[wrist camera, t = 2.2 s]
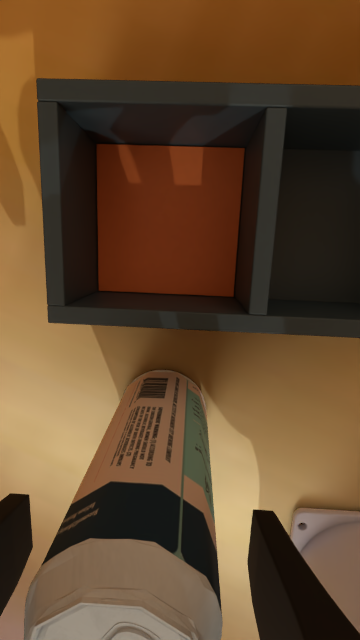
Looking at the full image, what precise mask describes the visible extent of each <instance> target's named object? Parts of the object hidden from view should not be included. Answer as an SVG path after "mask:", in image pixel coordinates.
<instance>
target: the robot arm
mask: <svg viewBox="0 0 360 640" xmlns="http://www.w3.org/2000/svg"><path fill="white" fill-rule="evenodd" d="M300 523H303V524H302V525H299V524H300ZM32 548H33V543H32V529H31V515H30V501H29V495H26V494H9V495H8V496H7V497H5V498H4V499H3V500H1V501H0V616H1V614H2V612H3V610H4V608H5V607H6V605H7V603H8V601H9V599H10V597H11V595H12V593H13V592H14V590H15V588H16V586H17V584H18V581H19V579H20V577H21V574H22V572H23V570H24V568H25V565H26V563H27V560H28V558H29V555H30V553H31V550H32ZM248 571H249V579H250V588H251V596H252V603H253V608H254V613H255V618H256V623H257V628H258V632H259V637H260V640H360V511H345V510H330V509H315V508H298V509H296V510H295V511H294V513H293V519H292V527H291V534H290V537H289V535H288V534H287V532H286V531H285V529H284V527H283V526H282V524H281V522H280V521H279V519H278V517H277V516H276V514H275V513H274V512H273V511H266V510H253V516H252V525H251V535H250V544H249V554H248Z"/></svg>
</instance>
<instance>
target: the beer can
mask: <svg viewBox="0 0 360 640" xmlns="http://www.w3.org/2000/svg"><path fill="white" fill-rule="evenodd" d="M221 636H222V612H221V599H220V586H219V573H218V560H217V546H216V533H215V520H214V507H213V493H212V480H211V467H210V454H209V440H208V427H207V414H206V404H205V400H204V396H203V394H202V393H201V391H200V389H199V388H198V386H197V385H196V384H195V383H194V382H193V381H192V380H190V379H189V378H187V377H186V376H184V375H182V374H180V373H178V372H175V371H171V370H154V371H149V372H147V373H144V374H142V375H140V376H139V377H137V378H136V379H134V380H133V381H132V382H131V383H130V384H129V385H128V387H127V388H126V390H125V392H124V394H123V397H122V399H121V402H120V404H119V406H118V408H117V410H116V412H115V414H114V416H113V418H112V420H111V422H110V424H109V426H108V429H107V431H106V433H105V435H104V437H103V439H102V441H101V443H100V445H99V447H98V449H97V451H96V453H95V456H94V458H93V460H92V462H91V464H90V466H89V468H88V470H87V472H86V474H85V476H84V478H83V481H82V483H81V485H80V487H79V489H78V491H77V493H76V495H75V497H74V499H73V501H72V503H71V505H70V508H69V510H68V512H67V514H66V516H65V518H64V520H63V522H62V524H61V526H60V528H59V530H58V532H57V535H56V537H55V539H54V541H53V543H52V545H51V547H50V549H49V551H48V553H47V555H46V557H45V560H44V562H43V564H42V566H41V567H40V569H39V571H38V572H37V574H36V576H35V578H34V579H33V581H32V583H31V585H30V588H29V591H28V594H27V598H26V605H25V619H24V640H220V639H221Z"/></svg>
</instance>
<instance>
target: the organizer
mask: <svg viewBox="0 0 360 640" xmlns="http://www.w3.org/2000/svg"><path fill="white" fill-rule="evenodd" d="M36 82H37V99H38V102H37V109H38V129H39V149H40V169H41V189H42V209H43V228H44V248H45V268H46V288H47V304H48V322H49V323H64V324H84V325H105V326H126V327H146V328H167V329H187V330H208V331H228V332H249V333H270V334H290V335H311V336H331V337H352V338H360V86H351V85H308V84H264V83H220V82H176V81H133V80H89V79H45V78H38V79H37V80H36Z"/></svg>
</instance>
